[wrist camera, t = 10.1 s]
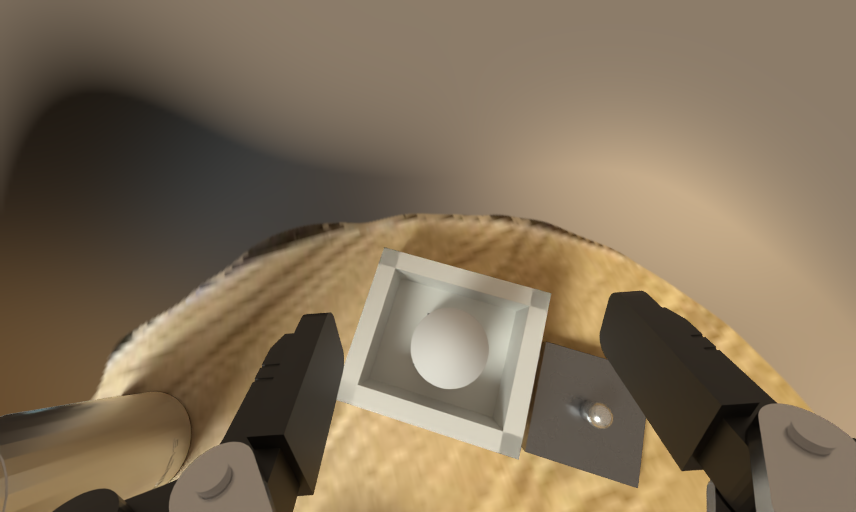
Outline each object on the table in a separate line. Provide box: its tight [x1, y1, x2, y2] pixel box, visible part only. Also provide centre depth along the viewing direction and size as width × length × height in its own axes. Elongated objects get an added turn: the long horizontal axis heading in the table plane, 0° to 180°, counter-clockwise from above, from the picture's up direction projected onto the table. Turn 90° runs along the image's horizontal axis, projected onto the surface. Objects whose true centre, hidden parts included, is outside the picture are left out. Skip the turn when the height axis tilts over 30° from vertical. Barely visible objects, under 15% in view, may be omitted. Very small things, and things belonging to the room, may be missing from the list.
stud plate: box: [521, 342, 646, 488], centre depth 29 cm, size 10×10×4 cm
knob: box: [411, 308, 489, 389], centre depth 27 cm, size 5×5×12 cm
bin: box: [336, 247, 551, 460], centre depth 31 cm, size 16×14×6 cm
